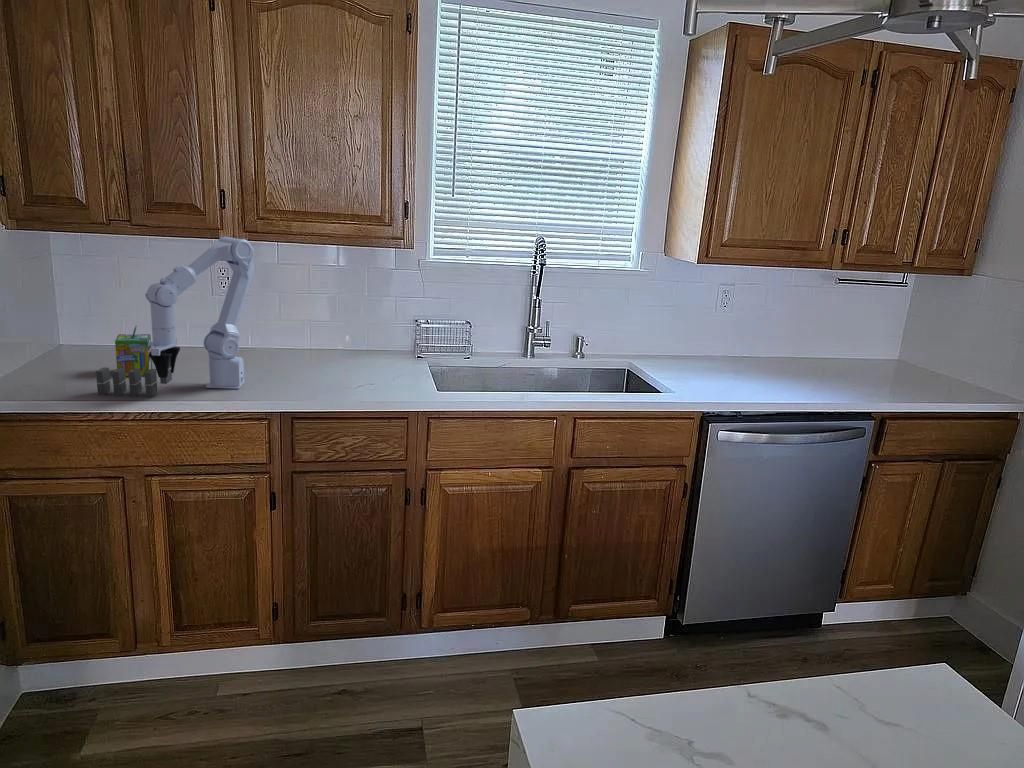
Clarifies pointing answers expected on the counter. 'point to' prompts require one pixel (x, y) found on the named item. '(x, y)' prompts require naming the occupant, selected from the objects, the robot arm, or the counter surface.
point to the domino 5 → (169, 377)
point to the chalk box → (133, 352)
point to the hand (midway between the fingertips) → (166, 375)
